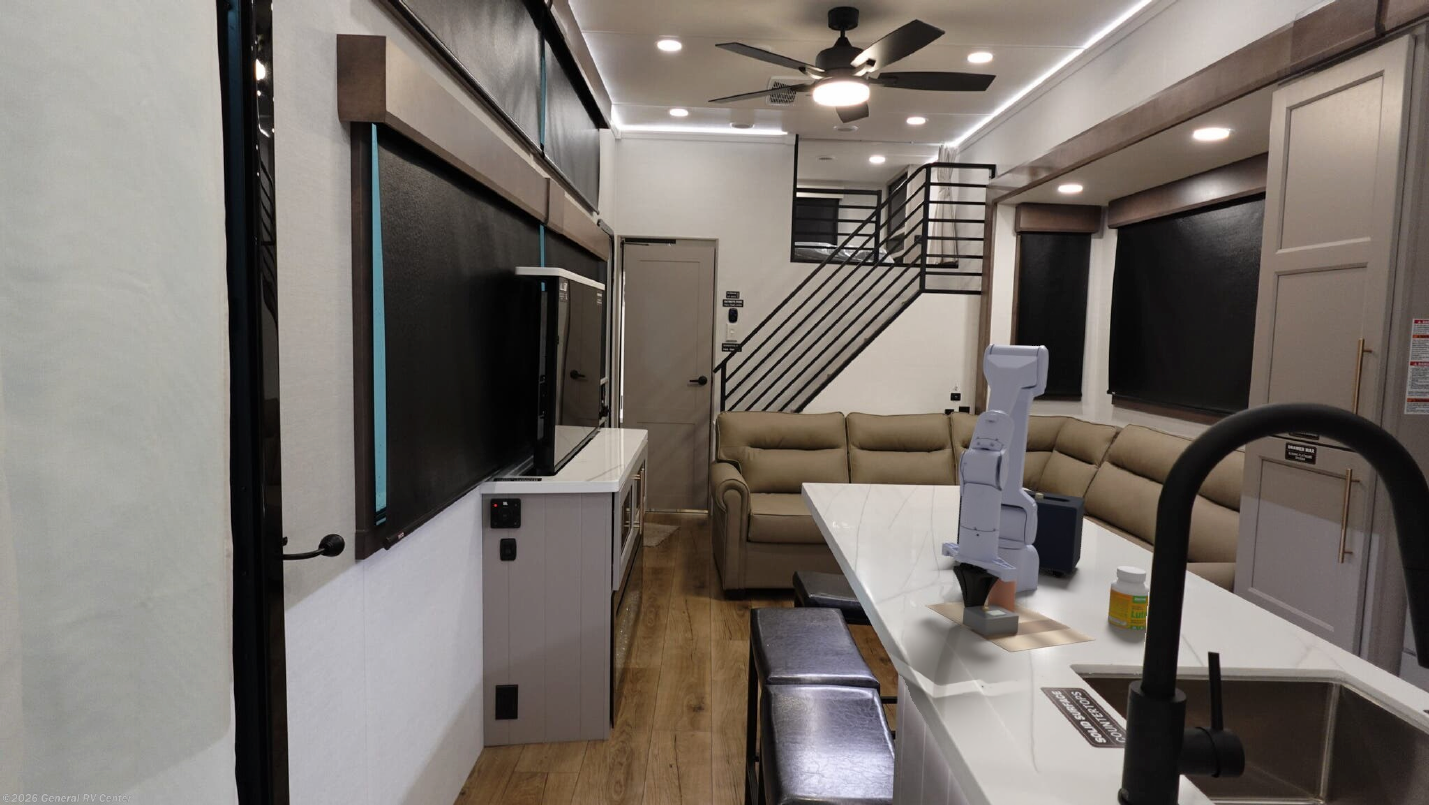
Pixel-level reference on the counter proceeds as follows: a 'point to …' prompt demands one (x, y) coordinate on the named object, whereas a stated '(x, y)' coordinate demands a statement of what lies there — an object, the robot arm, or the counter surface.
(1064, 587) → the counter surface
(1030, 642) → the board
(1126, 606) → the supplement bottle
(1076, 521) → the speaker
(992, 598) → the peg
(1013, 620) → the block
